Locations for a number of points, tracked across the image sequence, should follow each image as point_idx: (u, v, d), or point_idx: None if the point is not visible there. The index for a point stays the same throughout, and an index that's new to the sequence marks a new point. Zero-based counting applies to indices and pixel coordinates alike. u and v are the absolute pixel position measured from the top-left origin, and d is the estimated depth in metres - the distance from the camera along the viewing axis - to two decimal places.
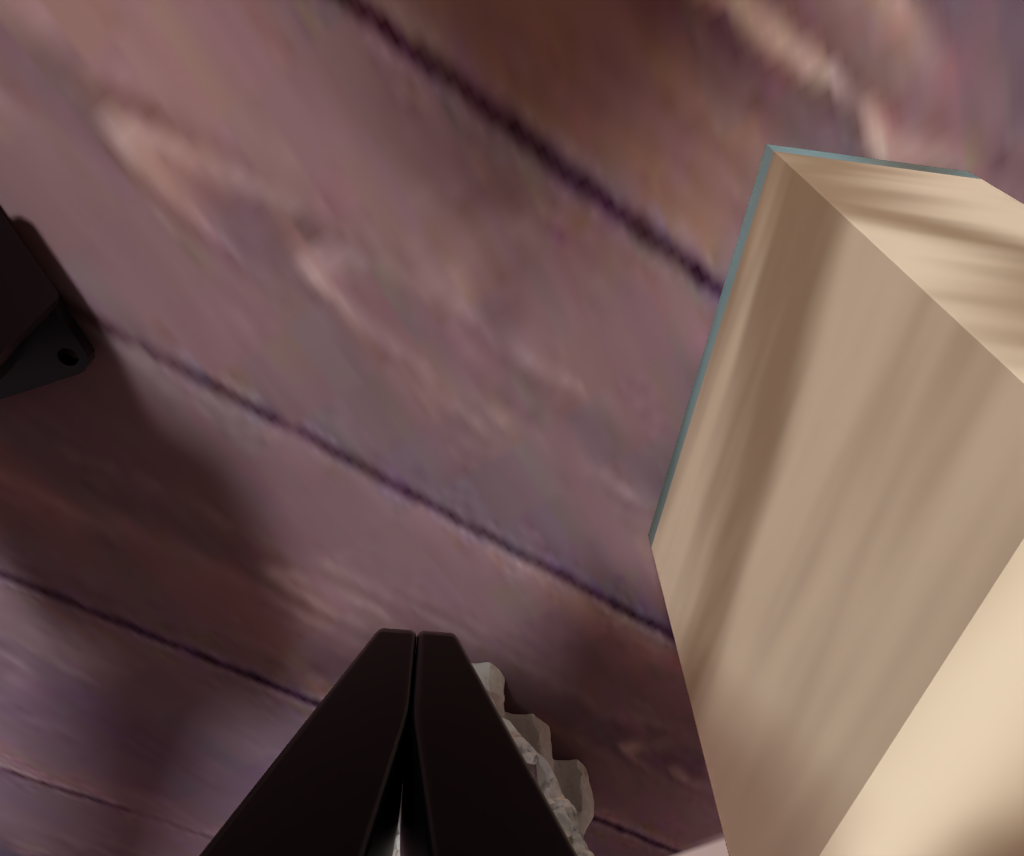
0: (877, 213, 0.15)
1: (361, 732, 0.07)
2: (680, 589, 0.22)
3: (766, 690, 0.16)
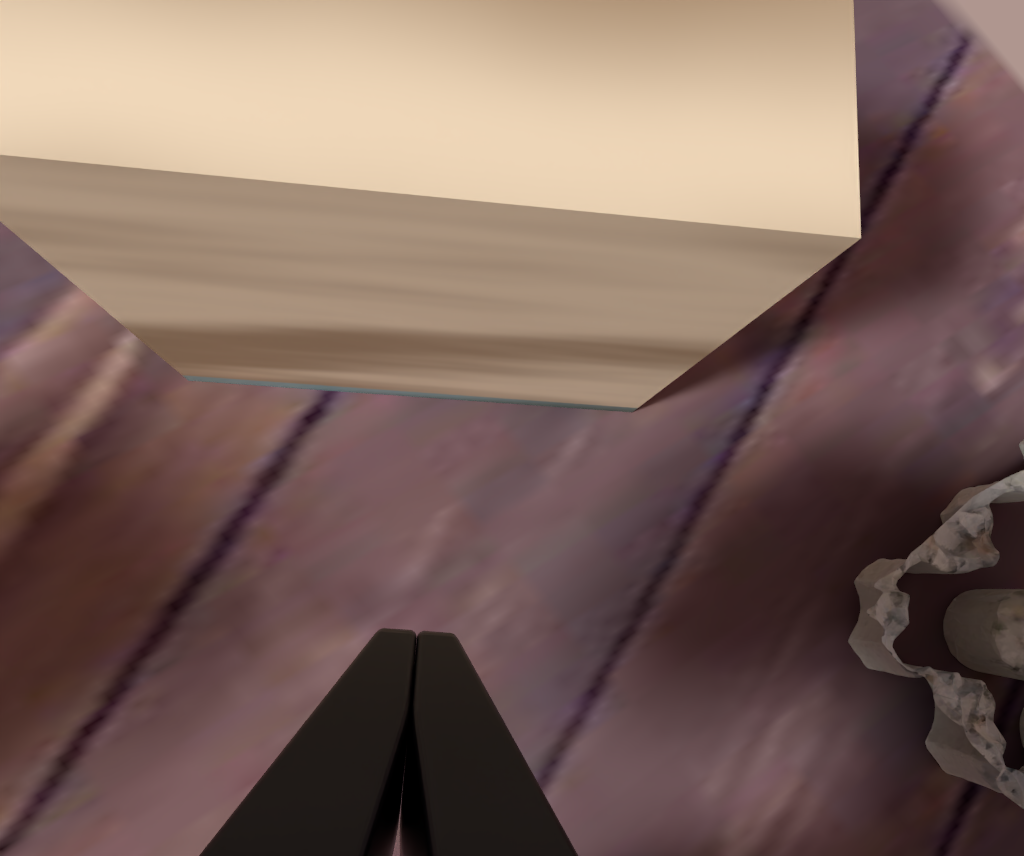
0: None
1: (361, 732, 0.07)
2: (621, 379, 0.19)
3: (549, 294, 0.14)
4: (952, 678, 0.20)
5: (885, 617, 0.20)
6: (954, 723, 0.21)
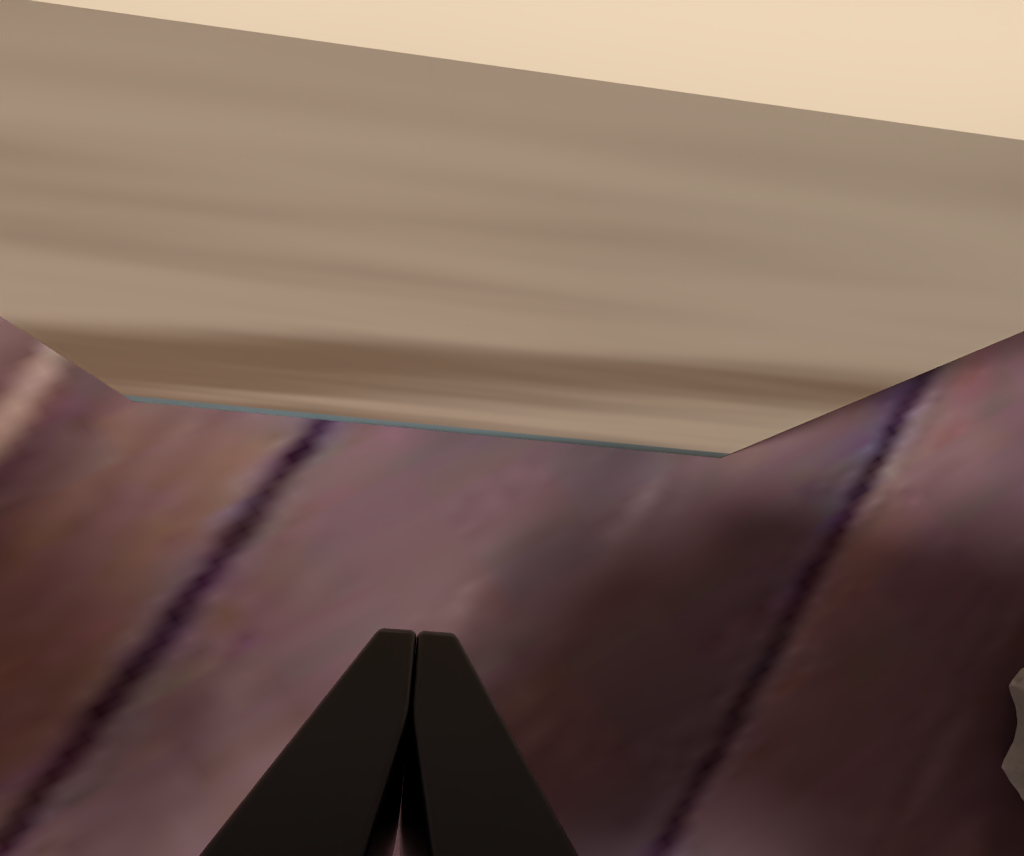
0: None
1: (361, 732, 0.07)
2: (729, 419, 0.14)
3: (679, 292, 0.08)
4: None
5: None
6: None
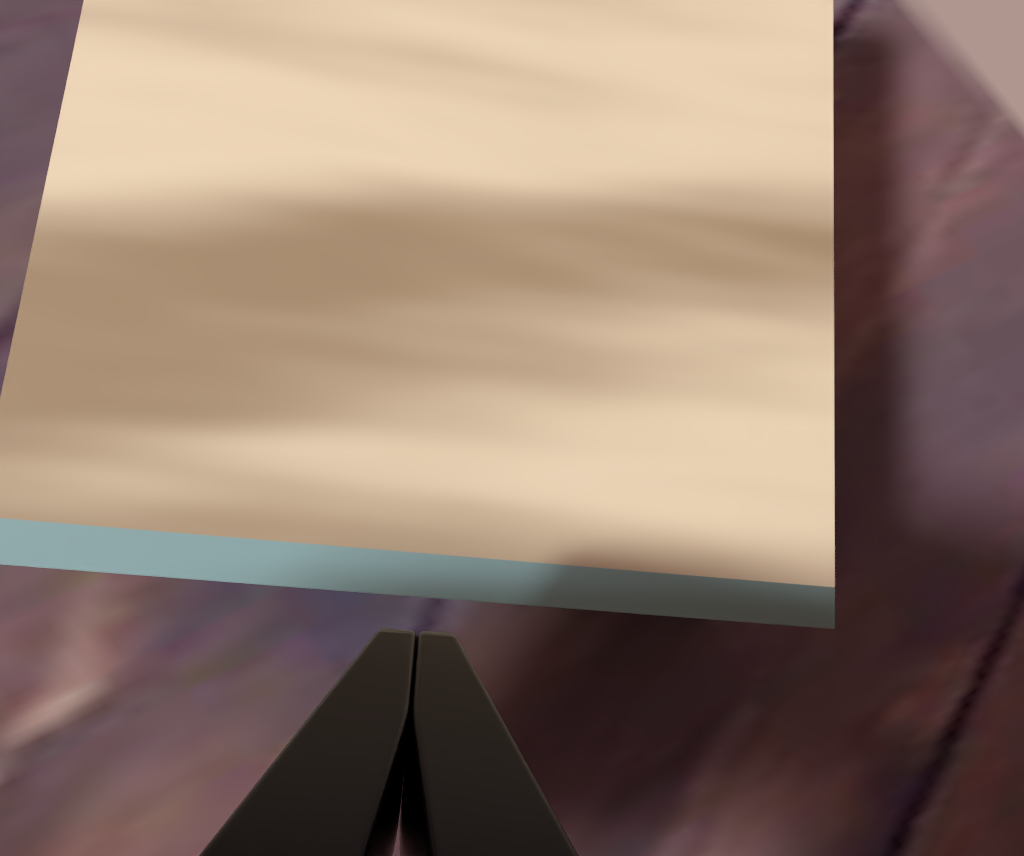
0: None
1: (361, 732, 0.07)
2: (761, 386, 0.12)
3: (615, 57, 0.13)
4: None
5: None
6: None
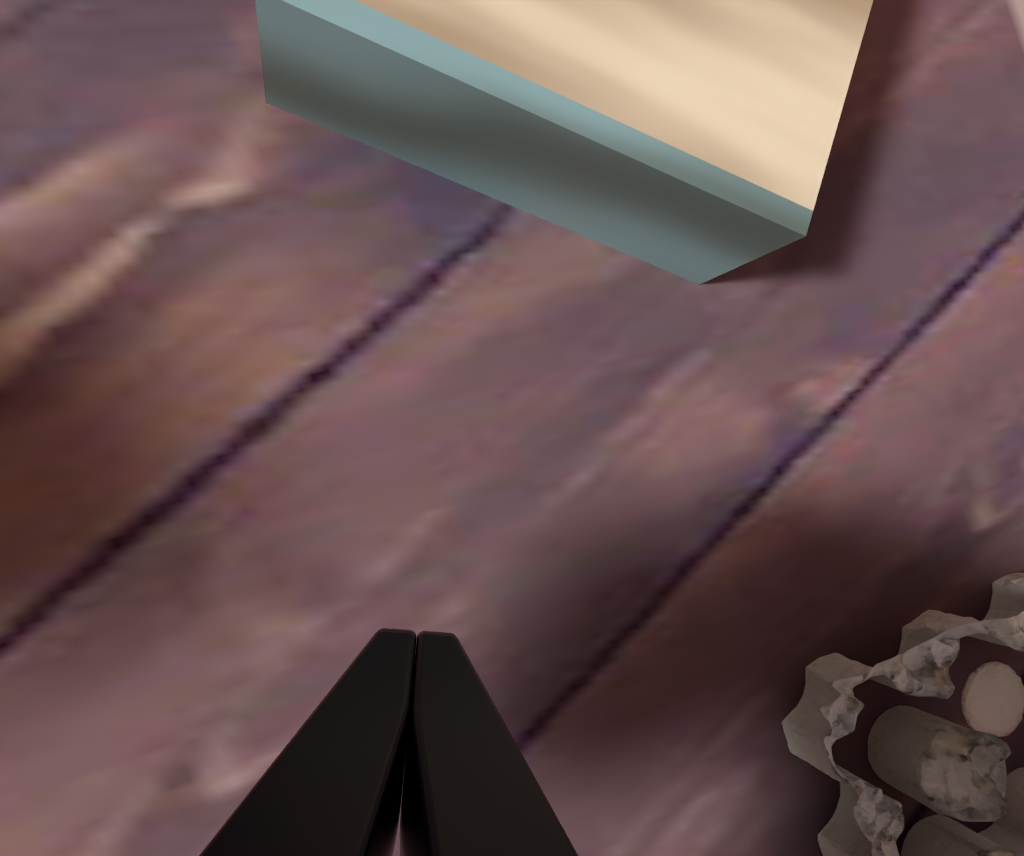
0: None
1: (362, 732, 0.07)
2: (802, 66, 0.18)
3: None
4: (875, 794, 0.20)
5: (834, 718, 0.20)
6: (853, 827, 0.22)
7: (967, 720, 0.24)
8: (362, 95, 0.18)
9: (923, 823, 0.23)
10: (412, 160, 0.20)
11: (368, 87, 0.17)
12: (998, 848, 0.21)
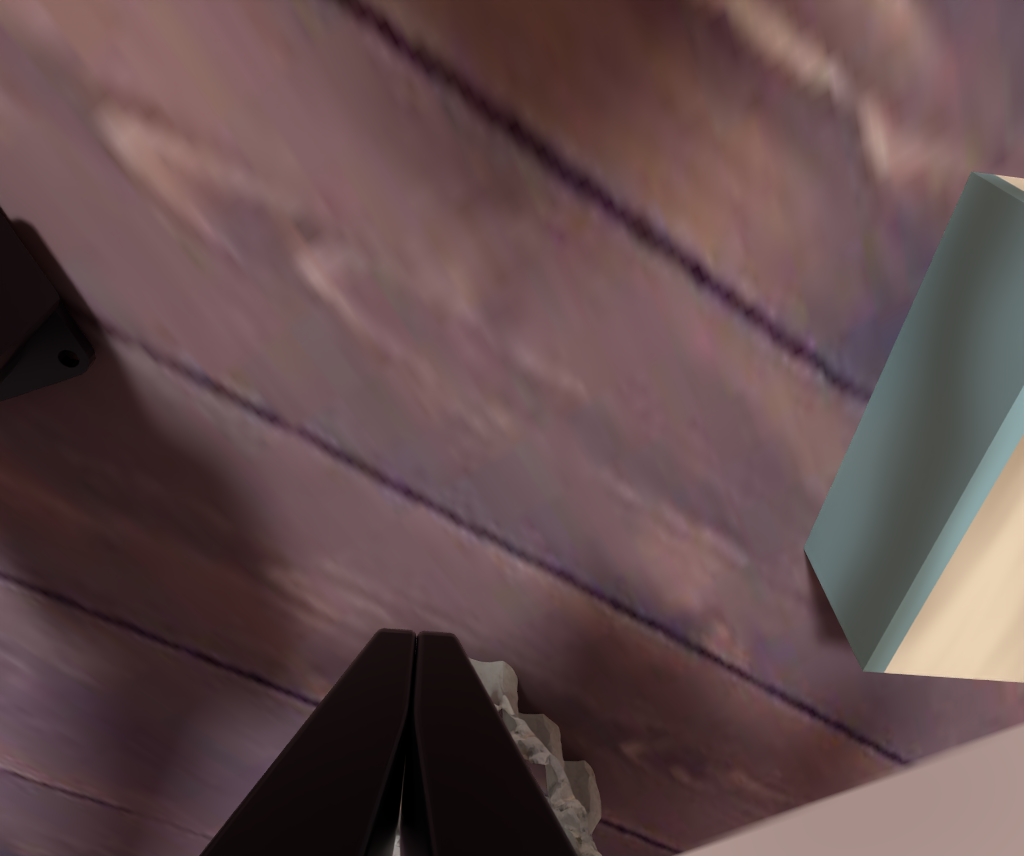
0: None
1: (361, 732, 0.07)
2: (1005, 650, 0.21)
3: None
4: None
5: None
6: None
7: None
8: (982, 302, 0.18)
9: None
10: (912, 315, 0.21)
11: (991, 315, 0.18)
12: None
